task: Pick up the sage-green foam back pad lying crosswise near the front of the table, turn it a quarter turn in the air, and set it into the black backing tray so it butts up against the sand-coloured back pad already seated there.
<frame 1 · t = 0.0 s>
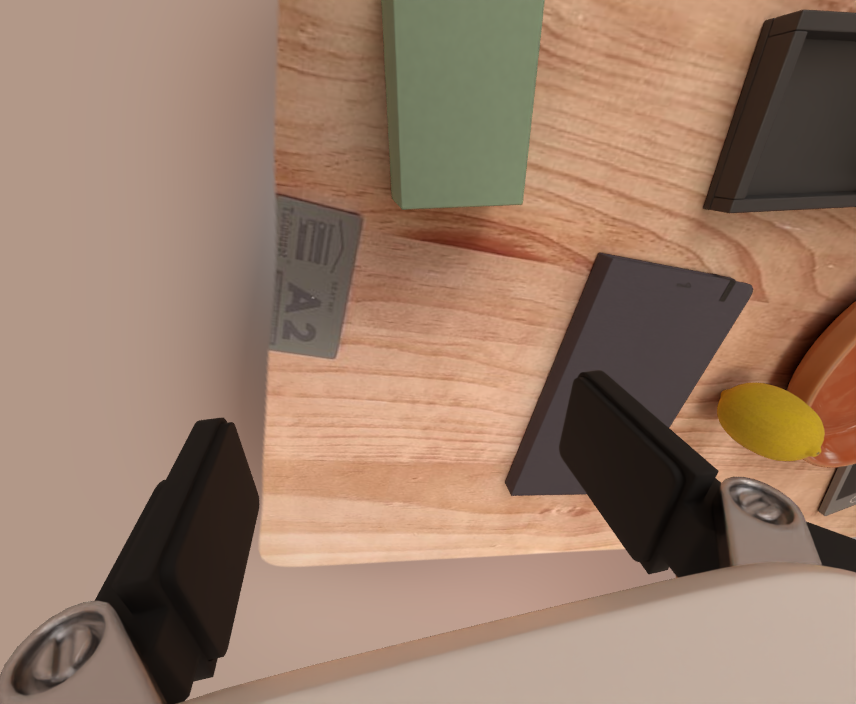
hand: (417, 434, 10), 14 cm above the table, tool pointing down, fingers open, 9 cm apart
lemon: (720, 390, 34), on the table
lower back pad: (445, 102, 19), on the table
notebook: (609, 388, 31), on the table
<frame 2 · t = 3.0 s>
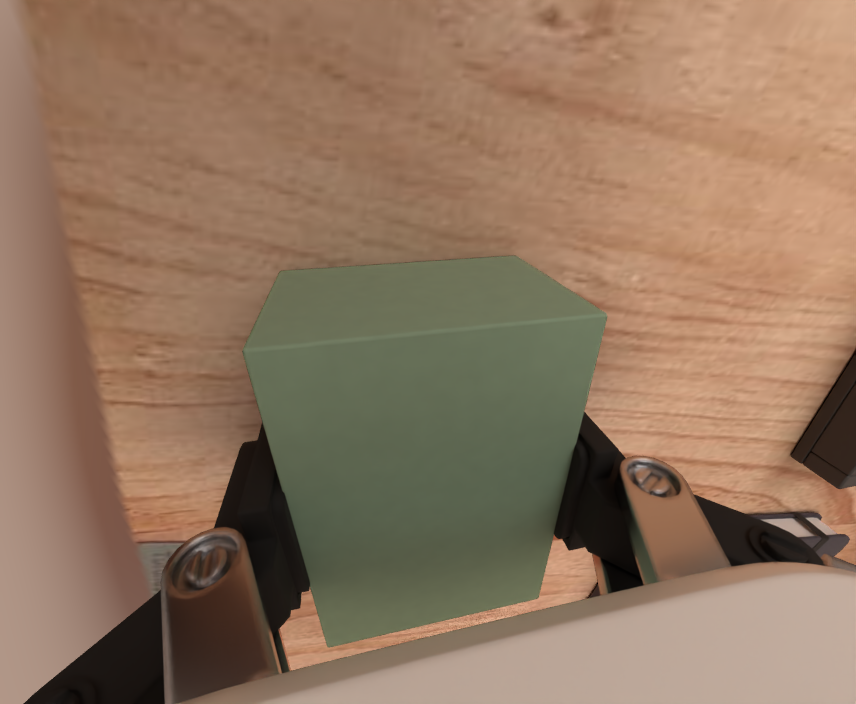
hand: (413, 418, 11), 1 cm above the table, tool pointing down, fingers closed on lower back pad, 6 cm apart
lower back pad: (410, 405, 12), on the table, touching gripper
notebook: (643, 624, 24), on the table
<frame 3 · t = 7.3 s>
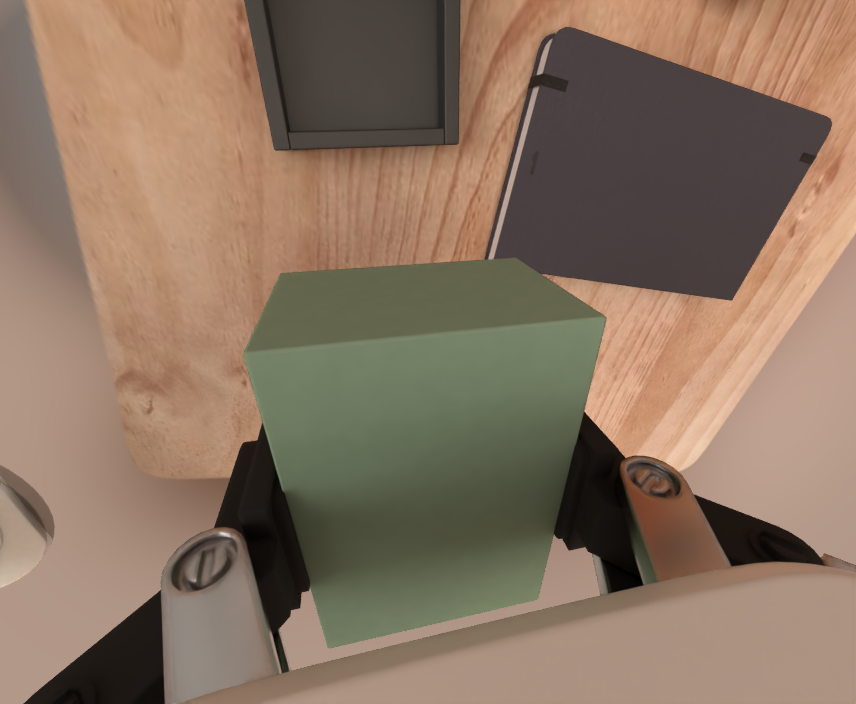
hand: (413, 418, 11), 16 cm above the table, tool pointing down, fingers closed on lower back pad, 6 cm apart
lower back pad: (410, 407, 12), point 15 cm above the table, touching gripper
notebook: (646, 190, 26), on the table
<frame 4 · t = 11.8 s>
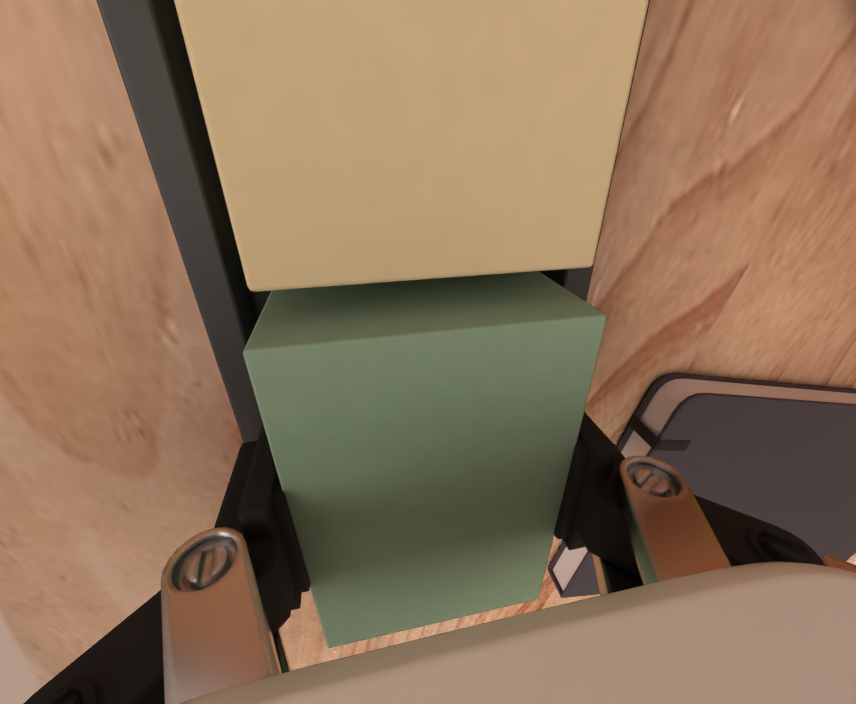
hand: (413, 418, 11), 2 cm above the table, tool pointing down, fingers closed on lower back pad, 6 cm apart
backing tray: (400, 243, 10), on the table
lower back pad: (410, 406, 12), point 1 cm above the table, touching gripper
notebook: (753, 481, 21), on the table
upper back pad: (392, 3, 8), resting on backing tray
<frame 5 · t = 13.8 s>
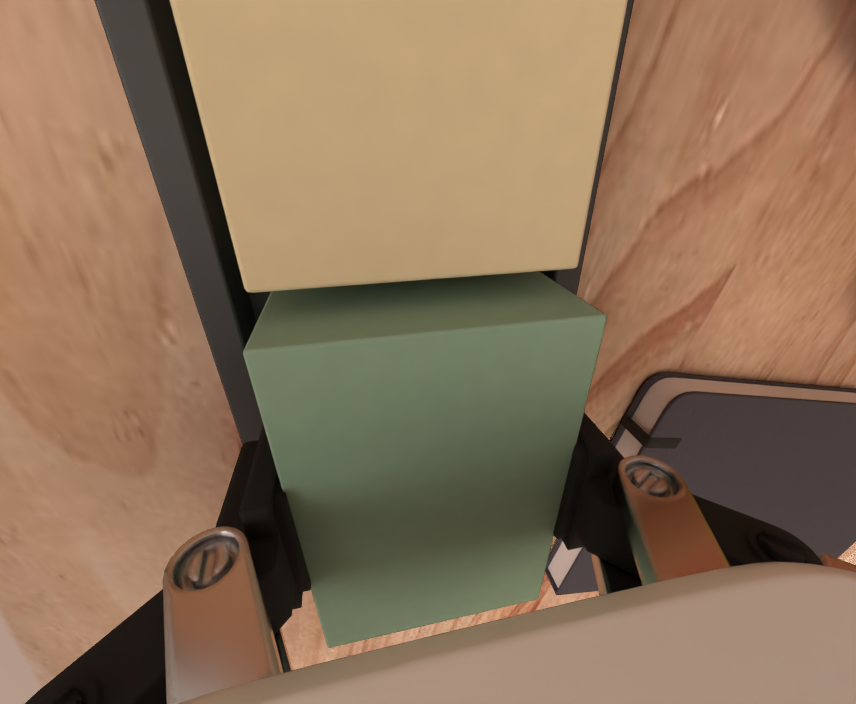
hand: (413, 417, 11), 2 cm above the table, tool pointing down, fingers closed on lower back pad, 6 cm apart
backing tray: (394, 245, 11), on the table
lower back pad: (410, 406, 12), point 2 cm above the table, touching gripper
notebook: (744, 478, 21), on the table
upper back pad: (384, 14, 8), resting on backing tray
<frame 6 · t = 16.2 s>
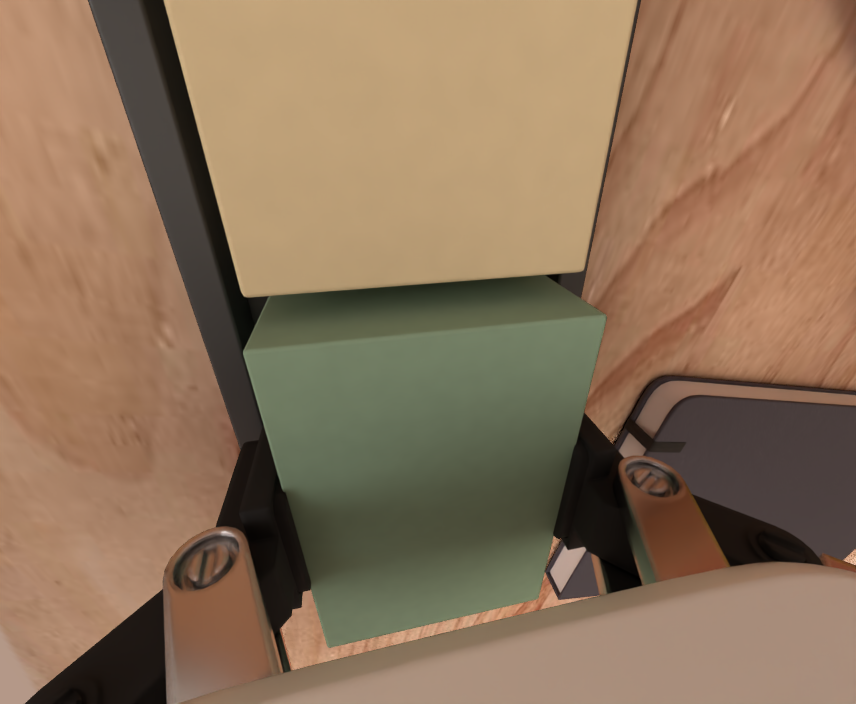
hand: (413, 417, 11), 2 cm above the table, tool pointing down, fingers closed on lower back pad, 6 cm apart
backing tray: (395, 247, 10), on the table
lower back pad: (410, 406, 12), point 1 cm above the table, touching gripper
notebook: (748, 481, 21), on the table
upper back pad: (385, 11, 8), resting on backing tray
when the fingers open (3 cm above the table, at t = 20.3 s): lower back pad drops 2 cm, resting on backing tray.
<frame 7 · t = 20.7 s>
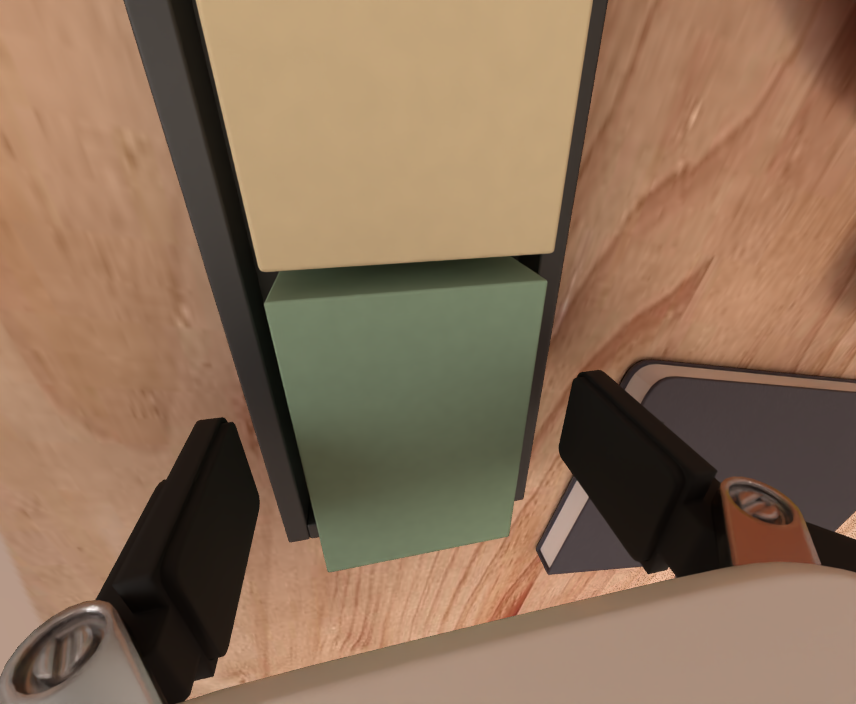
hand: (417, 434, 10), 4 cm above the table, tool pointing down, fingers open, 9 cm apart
backing tray: (391, 236, 12), on the table
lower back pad: (399, 372, 13), resting on backing tray
notebook: (729, 464, 22), on the table
upper back pad: (382, 25, 9), resting on backing tray
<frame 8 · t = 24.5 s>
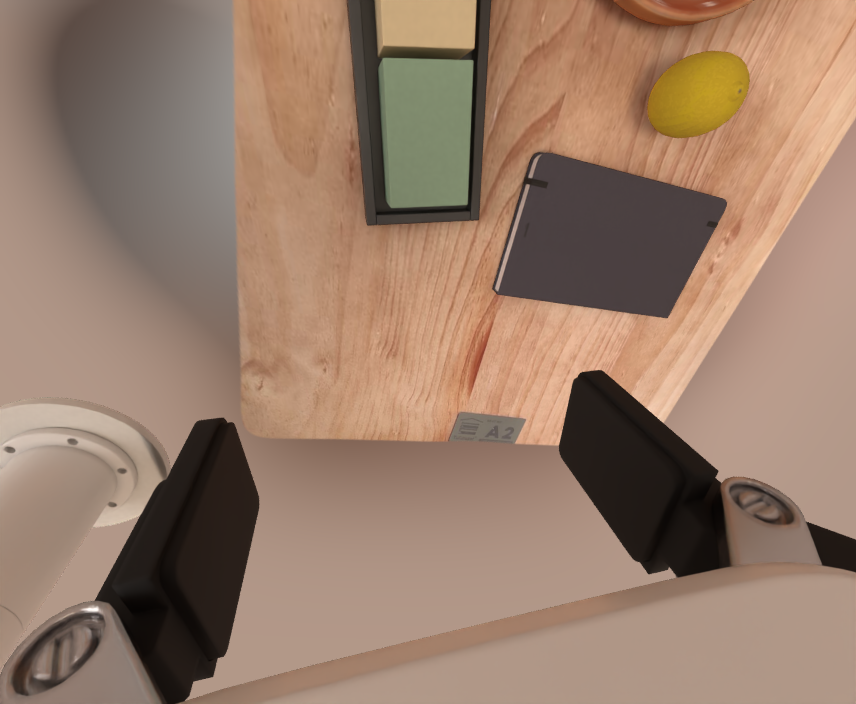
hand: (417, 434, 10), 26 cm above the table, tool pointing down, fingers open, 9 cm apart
backing tray: (417, 67, 28), on the table
lemon: (654, 102, 33), on the table
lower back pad: (419, 139, 30), resting on backing tray
notebook: (603, 243, 38), on the table
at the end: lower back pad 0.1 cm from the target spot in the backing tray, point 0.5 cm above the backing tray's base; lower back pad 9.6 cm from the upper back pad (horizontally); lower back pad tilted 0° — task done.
